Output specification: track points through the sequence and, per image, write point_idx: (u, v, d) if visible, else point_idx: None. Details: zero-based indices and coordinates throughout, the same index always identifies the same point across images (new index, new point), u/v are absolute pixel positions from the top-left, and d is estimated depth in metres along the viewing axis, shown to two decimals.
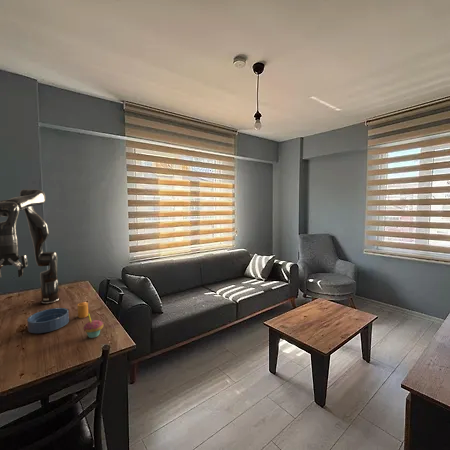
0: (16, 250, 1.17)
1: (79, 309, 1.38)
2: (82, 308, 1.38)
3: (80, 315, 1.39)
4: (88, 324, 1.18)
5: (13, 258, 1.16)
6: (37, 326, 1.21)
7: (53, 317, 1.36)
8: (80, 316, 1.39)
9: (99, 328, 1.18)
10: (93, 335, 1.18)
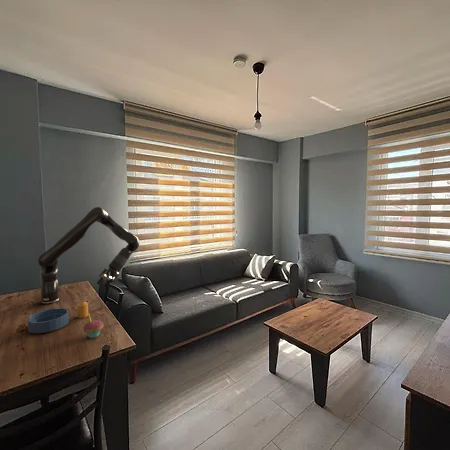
0: (117, 267, 1.53)
1: (79, 309, 1.38)
2: (82, 308, 1.38)
3: (80, 315, 1.39)
4: (88, 324, 1.18)
5: (112, 272, 1.51)
6: (37, 326, 1.21)
7: (53, 317, 1.36)
8: (80, 316, 1.39)
9: (99, 328, 1.18)
10: (93, 335, 1.18)
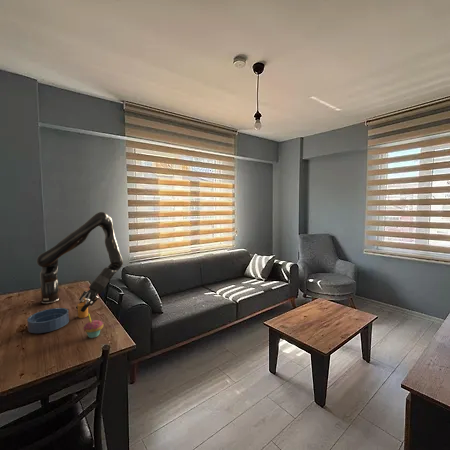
0: (98, 289, 1.44)
1: (79, 309, 1.38)
2: None
3: (80, 315, 1.39)
4: (88, 324, 1.18)
5: (92, 294, 1.42)
6: (37, 326, 1.21)
7: (53, 317, 1.36)
8: (80, 316, 1.39)
9: (99, 328, 1.18)
10: (93, 335, 1.18)
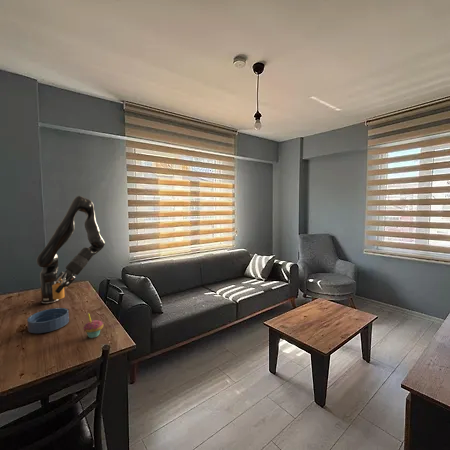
0: (75, 269, 1.35)
1: (54, 290, 1.29)
2: None
3: (55, 296, 1.29)
4: (88, 324, 1.18)
5: (68, 274, 1.33)
6: (37, 326, 1.21)
7: (53, 317, 1.36)
8: (55, 297, 1.30)
9: (99, 328, 1.18)
10: (93, 335, 1.18)
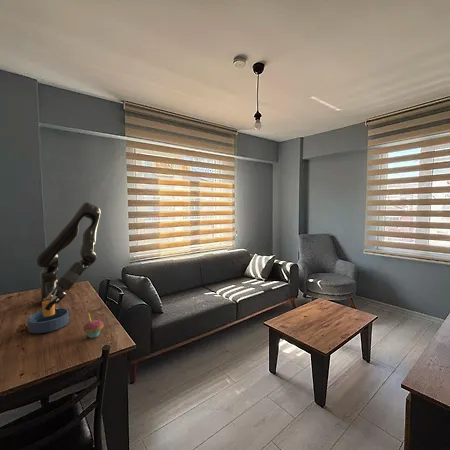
0: (66, 285, 1.32)
1: (44, 307, 1.26)
2: None
3: (45, 314, 1.27)
4: (88, 324, 1.18)
5: (59, 290, 1.31)
6: (37, 326, 1.21)
7: (53, 317, 1.36)
8: (45, 315, 1.27)
9: (99, 328, 1.18)
10: (93, 335, 1.18)
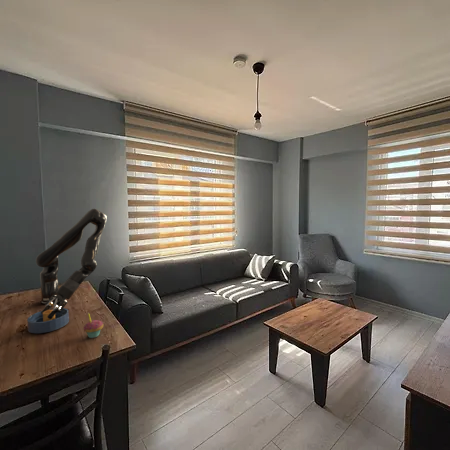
0: (66, 294, 1.32)
1: (44, 317, 1.27)
2: None
3: None
4: (88, 324, 1.18)
5: (59, 299, 1.31)
6: (37, 326, 1.21)
7: None
8: None
9: (99, 328, 1.18)
10: (93, 335, 1.18)
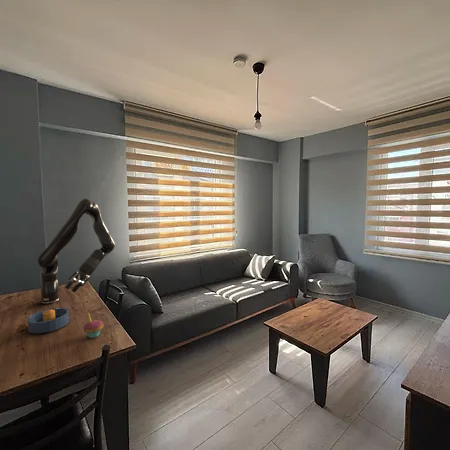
0: (88, 270, 1.41)
1: (44, 317, 1.27)
2: (48, 316, 1.27)
3: None
4: (88, 324, 1.18)
5: (82, 275, 1.40)
6: (37, 326, 1.21)
7: None
8: None
9: (99, 328, 1.18)
10: (93, 335, 1.18)
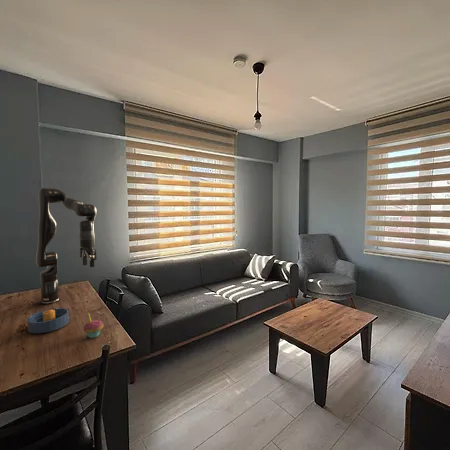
0: (89, 244, 1.40)
1: (44, 317, 1.27)
2: (48, 316, 1.27)
3: None
4: (88, 324, 1.18)
5: (88, 251, 1.41)
6: (37, 326, 1.21)
7: None
8: None
9: (99, 328, 1.18)
10: (93, 335, 1.18)
